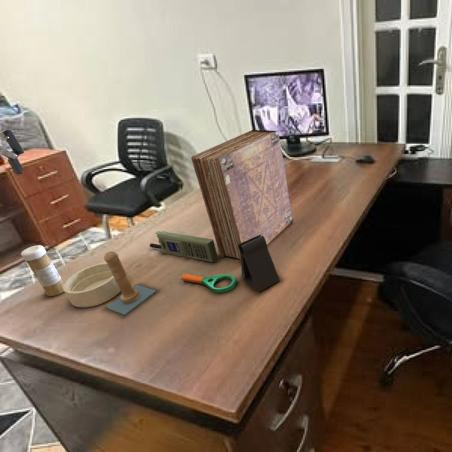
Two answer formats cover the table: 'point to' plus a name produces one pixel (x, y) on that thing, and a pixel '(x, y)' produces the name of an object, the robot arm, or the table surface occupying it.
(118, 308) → the rest mat
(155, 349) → the table surface
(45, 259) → the sprinkles bottle
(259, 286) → the phone stand
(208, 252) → the handheld radio
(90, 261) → the table surface
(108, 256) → the wooden pestle
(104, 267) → the bowl
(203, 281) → the magnifying glass
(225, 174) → the book
